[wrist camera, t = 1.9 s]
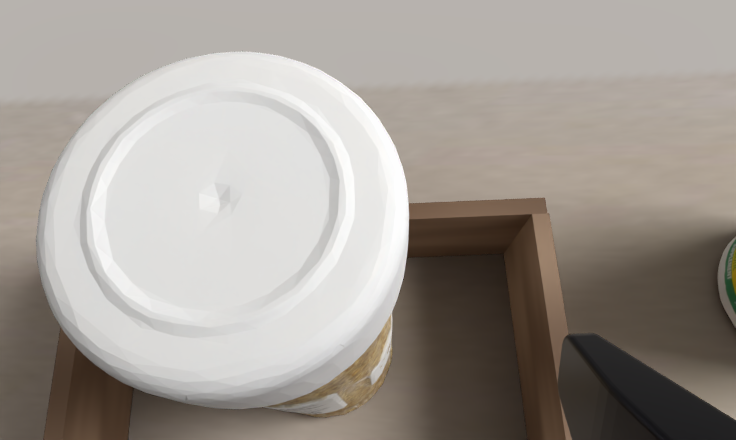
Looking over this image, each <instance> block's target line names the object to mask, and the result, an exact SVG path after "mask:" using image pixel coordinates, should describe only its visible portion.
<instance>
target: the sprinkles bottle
mask: <svg viewBox="0 0 736 440" xmlns="http://www.w3.org/2000/svg"><path fill="white" fill-rule="evenodd" d="M408 235H409V203H408V193H407V184H406V179H405V175H404V171H403V167H402V164H401V161H400V159H399V156H398V153H397V150H396V147H395V145H394V144H393V142H392V140H391V138H390V136H389V134H388V133H387V131H386V130H385V128H384V127H383V125H382V123H381V122H380V120H379V119H378V117H377V116H376V115H375V114H374V112H373V111H372V110H371V109H370V107H369V106H368V105H367V104H366V103H364V101H363V100H362V99H361V98H360V97H359V96H358V95H356V94H355V93H354V92H352V91H351V90H350V89H349V88H347V87H346V86H345V85H343V84H342V83H341V82H340V81H338V80H336V79H335V78H333V77H331V76H329V75H328V74H326V73H324V72H323V71H321V70H319V69H317V68H314V67H312V66H310V65H307V64H305V63H302V62H299V61H295V60H292V59H289V58H286V57H282V56H277V55H272V54H265V53H257V52H243V51H242V52H224V53H212V54H207V55H202V56H197V57H192V58H187V59H184V60H181V61H177V62H174V63H171V64H169V65H166V66H164V67H161V68H159V69H156V70H154V71H152V72H149V73H147V74H145V75H143V76H141V77H139V78H137V79H136V80H134V81H132V82H131V83H129V84H127V85H126V86H124V87H123V88H122V89H120V90H119V91H117V92H116V93H115V94H113V95H112V96H111V97H110V98H109V99H108V100H106V101H105V102H104V103H103V104H102V105H101V106H99V107H98V108H97V109H96V110H95V111H94V112H93V113H92V114H91V115H90V116H89V117H88V118H87V119H86V121H85V122H84V123H83V124H82V125H81V126H80V127H79V129H78V130H77V131H76V132H75V134H74V135H73V136H72V137H71V139H70V141H69V142H68V144H67V145H66V147H65V148H64V150H63V151H62V153H61V154H60V156H59V158H58V160H57V162H56V164H55V166H54V168H53V169H52V172H51V174H50V177H49V180H48V182H47V185H46V188H45V190H44V193H43V197H42V201H41V206H40V210H39V217H38V226H37V235H36V250H37V263H38V268H39V272H40V277H41V282H42V286H43V289H44V292H45V294H46V297H47V300H48V303H49V306H50V308H51V310H52V312H53V315H54V317H55V318H56V320H57V321H58V322H59V324H60V326H61V328H62V330H63V331H64V333H65V334H66V335H67V336H68V338H69V339H70V340H71V341H72V343H73V344H74V345H75V346H76V347H77V348H78V349H79V350H80V352H81V353H82V354H83V355H84V356H86V357H87V358H88V359H89V360H90V361H91V362H93V363H94V364H95V365H96V366H97V367H99V368H100V369H102V370H103V371H105V372H106V373H107V374H109V375H110V376H112V377H114V378H115V379H117V380H119V381H120V382H122V383H124V384H126V385H129V386H131V387H133V388H136V389H138V390H140V391H143V392H145V393H148V394H152V395H156V396H159V397H163V398H167V399H171V400H175V401H178V402H182V403H187V404H193V405H198V406H204V407H210V408H218V409H237V410H238V409H248V408H258V407H265V408H270V409H276V410H281V411H288V412H296V413H301V414H305V415H311V416H314V417H330V416H336V415H344V414H346V413H349V412H350V411H353V410H355V409H357V408H359V407H360V406H362V405H364V404H365V403H366V402H368V401H369V400H370V399H371V398H372V397H373V396H374V394H375V393H376V392H377V390H378V389H379V388H380V387H381V385H382V384H383V382H384V380H385V376H386V374H387V372H388V369H389V366H390V364H391V359H392V311H393V308H394V306H395V304H396V301H397V299H398V295H399V292H400V288H401V285H402V282H403V278H404V272H405V265H406V259H407V250H408Z"/></svg>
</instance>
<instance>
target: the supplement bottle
mask: <svg viewBox="0 0 736 440" xmlns="http://www.w3.org/2000/svg"><path fill="white" fill-rule="evenodd" d="M718 289H719V294H720V300H721V302H722V304H723V306H724V309H725V311H726V313H727V314H728V316H729V318H730V319H731V321H732V323H733V325H734V326H735V328H736V237H735V238H734V239H733V240H732V241H731V242H730V243H729V244H728V245H727V247H726V248H725V250H724V252H723V254H722V257H721V260H720V263H719V268H718Z"/></svg>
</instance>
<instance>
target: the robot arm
mask: <svg viewBox="0 0 736 440" xmlns="http://www.w3.org/2000/svg"><path fill="white" fill-rule="evenodd" d="M558 392H559V397H560V400H561V404H562V407H563V411H564V414H565V417H566V421H567V424H568V428H569V431H570V434H571V438H572V440H736V420H734V419H733V418H731V417H730V416H728V415H726V414H725V413H723V412H721V411H720V410H718V409H717V408H715V407H713V406H712V405H710V404H709V403H707V402H705V401H704V400H702V399H700V398H699V397H697V396H696V395H694V394H692V393H691V392H689V391H688V390H686V389H684V388H683V387H681V386H679V385H678V384H676V383H675V382H673V381H671V380H670V379H668V378H667V377H665V376H663V375H662V374H660V373H658V372H657V371H655V370H654V369H652V368H650V367H649V366H647V365H646V364H644V363H642V362H641V361H639V360H637V359H636V358H634V357H633V356H631V355H629V354H628V353H626V352H625V351H623V350H621V349H620V348H618V347H616V346H615V345H613V344H612V343H610V342H608V341H607V340H605V339H604V338H602V337H600V336H599V335H597V334H594V333H581V334H568V335H567V336H566V337H565V338H564V340H563V343H562V350H561V358H560V366H559V374H558Z"/></svg>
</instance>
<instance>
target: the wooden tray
mask: <svg viewBox="0 0 736 440" xmlns="http://www.w3.org/2000/svg"><path fill="white" fill-rule="evenodd" d="M482 254H504V259H505V267H506V275H507V282H508V290H509V298H510V306H511V314H512V321H513V329H514V337H515V345H516V353H517V361H518V368H519V376H520V384H521V392H522V400H523V408H524V415H525V423H526V431H527V439H528V440H572V438H571V434H570V431H569V428H568V424H567V421H566V417H565V414H564V411H563V407H562V404H561V400H560V397H559V392H558V374H559V366H560V358H561V350H562V343H563V340H564V338H565V337H566V336H567V335H568V334H569V333H568V327H567V321H566V315H565V309H564V302H563V296H562V290H561V284H560V278H559V271H558V265H557V259H556V253H555V247H554V240H553V234H552V228H551V222H550V216H549V213H547V208H546V201H545V198H527V199H504V200H481V201H457V202H434V203H410V204H409V235H408V250H407V258H411V257H434V256H458V255H482ZM132 393H133V387H131V386H129V385H126V384H124V383H122V382H120V381H119V380H117V379H115V378H114V377H112V376H110V375H109V374H107V373H106V372H105V371H103V370H102V369H100V368H99V367H97V366H96V365H95V364H94V363H93V362H91V361H90V360H89V359H88V358H87V357H86V356H84V355H83V354H82V353H81V352H80V350H79V349H78V348H77V347H76V346H75V345H74V344H73V343H72V341H71V340H70V339H69V338H68V336H67V335H66V334H65V333H64V331H63V330H62V328H60V334H59V341H58V347H57V354H56V360H55V367H54V373H53V380H52V386H51V393H50V399H49V406H48V412H47V419H46V425H45V431H44V438H43V440H128V431H129V422H130V412H131V403H132Z"/></svg>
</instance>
